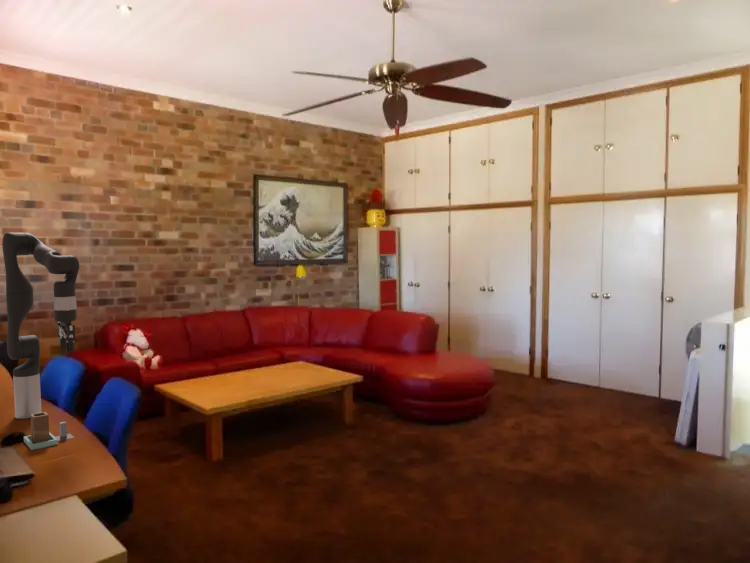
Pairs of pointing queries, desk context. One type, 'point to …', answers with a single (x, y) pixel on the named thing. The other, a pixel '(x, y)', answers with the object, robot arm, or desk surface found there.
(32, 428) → the brown rectangular box
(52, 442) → the tray
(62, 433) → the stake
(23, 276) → the robot arm
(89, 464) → the desk surface
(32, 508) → the desk surface
